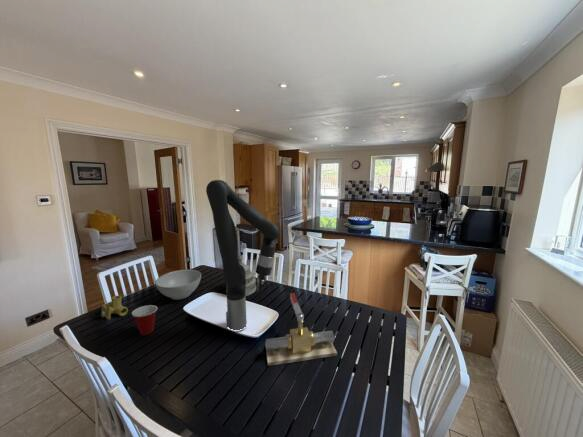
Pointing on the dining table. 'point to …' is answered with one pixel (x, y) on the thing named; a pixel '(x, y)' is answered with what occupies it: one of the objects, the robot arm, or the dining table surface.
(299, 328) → the valve line
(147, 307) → the plastic cup
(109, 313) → the ball valve
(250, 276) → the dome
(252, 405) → the dining table surface
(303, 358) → the mounting board
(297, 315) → the valve lever
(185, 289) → the decorative bowl
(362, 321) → the dining table surface
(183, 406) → the dining table surface
